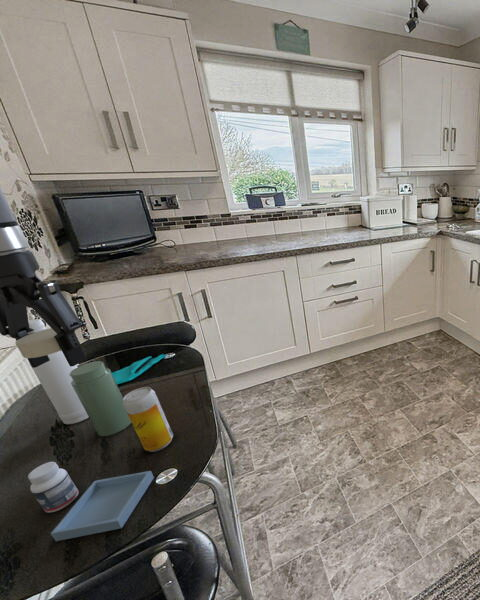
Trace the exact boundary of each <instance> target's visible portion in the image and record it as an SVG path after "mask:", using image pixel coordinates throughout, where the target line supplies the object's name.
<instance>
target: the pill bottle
mask: <svg viewBox="0 0 480 600" xmlns="http://www.w3.org/2000/svg"><path fill="white" fill-rule="evenodd" d="M59 467H60V466H59V465H58V464H57V462H55V461H48V462H45V463H43V464H41V465H38V466H37V467H35V468H34V469H33V470H32V471H30V472H29V474H28V475H27V479H28V480H29V482H30V483H31V484H30V487H29V490H30V492H31V493H32V495H33V496H34V498H35V499H36V501H37V502H38V504H39V505H40V506H41V508H42V510H43V511H44V512H45V513H50V514H51V513H56V512H58V511H60V510H62V509H64V508H66V507H67V506H69V505H71V503H73V502H74V501H75V500H76V498H77V497H78V495H79V488H77V486H76V485H75V483H74V482H73V480H72V479H71V477H70V475H69V474H68V471H67V470H66V469H64V468H59Z"/></svg>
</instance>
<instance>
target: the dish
mask: <svg viewBox="0 0 480 600" xmlns="http://www.w3.org/2000/svg"><path fill="white" fill-rule="evenodd" d="M154 479H155V476H154V474H153V472H152V471H151V470H147V471H141V472H136V473H130V474H125V475H119V476H113V477H108V478H102V479H98V480H94V481H93V482H92V483H91V484H90V486H89V487H88V488H87V489H86V490H85V492H84V493H82V495H81V496H80V498H79V499H78V500H77V501H76V502H75V503H74V505H73V506H71V508H70V509H69V511H68V512H67V513H66V514H65V516H64V517H63V518H62V519H61V521H60V522H59V523H58V524H57V525H56V526H55V528H53V530H52V531H51V532H50V535H51V537H52V538H53V539H54V541H55V542H59V541H65V540H69V539H75V538H79V537H84V536H89V535H95V534H99V533H105V532H110V531H116V530H121V529H122V528H123V527H124V526H125V524H126V523H127V521H128V519H129V518H130V517H131V515H132V514H133V511H135V509H136V507H137V505H138V504H139V502H140V500H141V499H142V497H143V496H144V495H145V493H146V491H147V489H148V488H149V486H150V485H151V484H152V482H153V480H154Z"/></svg>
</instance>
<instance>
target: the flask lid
mask: <svg viewBox="0 0 480 600" xmlns="http://www.w3.org/2000/svg"><path fill="white" fill-rule="evenodd" d="M61 328H62V327H61ZM62 329H63V328H62ZM55 335H57V333H56V332H55V331H54V330H53V329H52V328H51V327H49V328H45V330H42V331H38V332H35V333H32V334H29V335H27V336H24V337H22V338H20V339H19V340H17V341H16V340H15V345H16V348H17V349H18V350H19V353H20V354H21V356H22V358H24V359H27V358H36V357H41V356H45V355H49V354H52V353H56V352H58V351H61V348H60V347H59V345H58V343H57V341H56V339H55V337H54V336H55Z"/></svg>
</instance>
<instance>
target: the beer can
mask: <svg viewBox="0 0 480 600" xmlns="http://www.w3.org/2000/svg"><path fill="white" fill-rule="evenodd" d="M123 406H124V408H125V410H126V412H127V414H128V416H129V418H130V421H131V424H132V427H133V429H134V431H135V433H136V435H137V437H138V439H139V441H140V443H141V446H142V448H143V450H144V451H147V452H153V453H154V452H158V451H160V450H163V449H164V448H166V447H168V445H169V444H170V443H171V442H172V440H173V438H174V433H173V431H172V428H171V426H170V424H169V422H168V420H167V417H166V414H165V412H164V410H163V408H162V405H161V403H160V400H159V398H158V396H157V394H156V391H155V390H153V389H152V388H151V386H150V387H149V386H144V387H143V386H142V387H139V388H136V389H134V390H132V391H130V392H128V393H127V394H125V395H124V396H123Z"/></svg>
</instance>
